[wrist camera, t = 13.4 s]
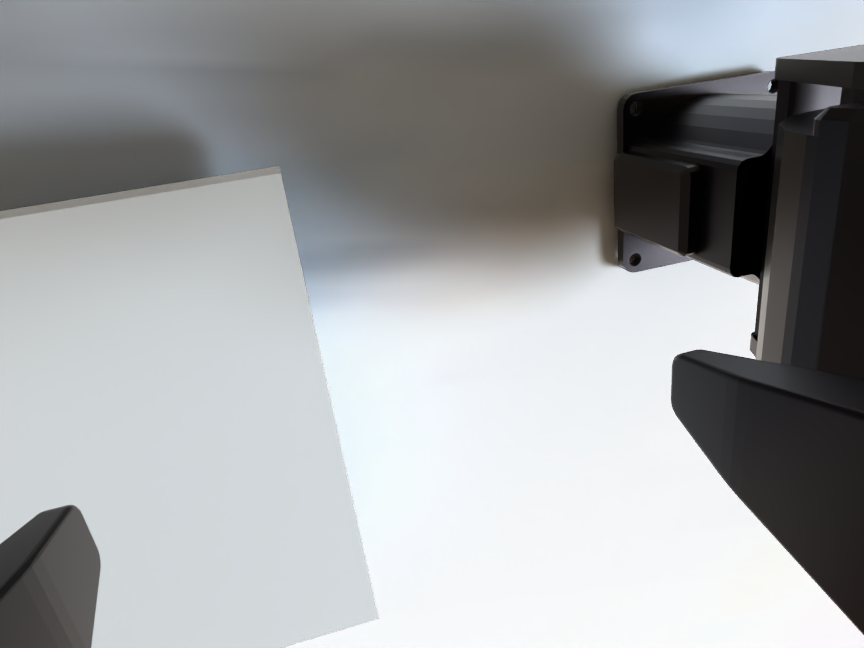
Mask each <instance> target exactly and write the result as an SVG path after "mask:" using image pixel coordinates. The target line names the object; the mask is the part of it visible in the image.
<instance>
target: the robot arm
mask: <svg viewBox="0 0 864 648" xmlns="http://www.w3.org/2000/svg"><path fill="white" fill-rule="evenodd" d="M770 81H771V84H772V86H771V89H770V90H769V91H768V84H769V82H770ZM633 102H635V103H636V105H637V109H636V111H635V113H634V114H633V115H632V114H631V113H630V106H631V104H632V103H633ZM614 217H615V226H616V227H617V228H618V262H619V265H620V266H621V268H623V269H625V270H627V271H629V272H638V271H643V270H648V269H652V268H657V267H662V266H666V265H671V264H676V263H680V262H685V261H690V260H695V261H697V262H700V263H702V264H704V265H707V266H709V267H712V268H714V269H716V270H719V271H721V272H723V273H726V274H728V275H731V276H733V277H742V278H744V279H747V280H749V281H751V282H754V283H756V284H759V293H758V304H757V315H756V326H755V332H753V333H752V334H751V342H750V351H751V352H752V353H753V354H754V356H755V357H756V360H755V359H750V358H744V357H739V356H733V355H728V354H723V353H717V352H712V351H706V350H694V351H690V352H686V353H682V354H679V355H677V356H676V357H675V358H674V360H673V364H672V385H671V403H672V407H673V410H674V412H675V414H676V416H677V417H678V419H679V420H680V421H681V423H682V424H683V425H684V427H685V428H686V429H687V431H688V432H689V433H690V435H691V436H692V437H693V439H694V440H695V442H696V443H697V444H698V446H699V447H700V448H701V450H702V451H703V452H704V454H705V455H706V456H707V458H708V459H709V461H710V462H711V463H712V465H713V466H714V467H715V469H716V470H717V471H718V473H719V474H720V475H721V477H722V478H723V479H724V480H725V482H726V483H727V484H728V485H729V487H730V488H731V489H732V490H733V491H734V493H735V494H736V495H737V496H738V497H739V498H740V499H741V501H742V502H743V503H744V504H745V505H746V506H747V507H748V508H749V509H750V510H751V512H752V513H753V514H754V515H755V516H756V517H757V518H758V519H759V520H760V521H761V523H762V524H763V525H764V526H765V527H766V528H767V529H768V530H769V531H770V532H771V534H772V535H773V536H774V537H775V538H776V539H777V540H778V541H779V542H780V543H781V545H782V546H783V547H784V548H785V549H786V550H787V551H788V552H789V553H790V554H791V556H792V557H793V558H794V559H795V560H796V561H797V562H798V563H799V564H800V565H801V567H802V568H803V569H804V570H805V571H806V572H807V573H808V574H809V575H810V576H811V578H812V579H813V580H814V581H815V582H816V583H817V584H818V585H819V586H820V587H821V589H822V590H823V591H824V592H825V593H826V594H827V595H828V596H829V597H830V598H831V600H832V601H833V602H834V603H835V604H836V605H837V606H838V607H839V608H840V609H841V611H842V612H843V613H844V614H845V615H846V616H847V617H848V618H849V619H850V620H851V622H852V623H853V624H854V625H855V626H856V627H857V628H858V629H859V630H860V631H861V633H862V634H863V635H864V45H857V46H851V47H844V48H838V49H831V50H825V51H818V52H812V53H805V54H799V55H792V56H785V57H779V58H776V67H775V71H766V72H760V73H753V74H747V75H741V76H734V77H728V78H722V79H715V80H709V81H702V82H696V83H690V84H683V85H677V86H671V87H664V88H658V89H651V90H645V91H639V92H632V93H629V94H626V95H625V96H623V97H622V98H621V100H620V102H619V104H618V109H617V157H616V159H615V160H614ZM633 254H635V255H636V257H635V260H634V261H633V262H632V263H629V260H630V257H631V256H632V255H633ZM100 570H101V560H100V554H99V551H98V548H97V546H96V544H95V541H94V539H93V537H92V535H91V533H90V530H89V528H88V526H87V524H86V521H85V519H84V517H83V515H82V513H81V511H80V510H79V509H78V508H77V507H76V506H74V505H66V506H62V507H58V508H54V509H50V510H46V511H43V512H40V513H39V514H37V515H36V516H35V517H34V518H32V519H31V520H30V521H28V522H27V523H26V524H25V525H23V526H22V527H21V528H20V529H18V530H17V531H16V532H15V533H13V534H12V535H11V536H10V537H8V538H7V539H6V540H5V541H3V542H2V543H1V544H0V648H91V646H92V638H93V629H94V621H95V612H96V604H97V595H98V587H99V578H100Z"/></svg>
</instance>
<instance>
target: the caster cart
mask: <svg viewBox="0 0 864 648" xmlns="http://www.w3.org/2000/svg"><path fill="white" fill-rule="evenodd" d="M66 505H74V506H76V507H77V508H78V509H79V510H80V511H81V513H82V515H83V517H84V519H85V521H86V524H87V526H88V528H89V530H90V533H91V535H92V537H93V539H94V541H95V544H96V546H97V548H98V551H99V554H100V560H101V570H100V578H99V587H98V595H97V604H96V612H95V621H94V629H93V638H92V646H91V648H283V647H286V646H290V645H293V644H296V643H300V642H303V641H306V640H310V639H313V638H316V637H320V636H323V635H326V634H330V633H333V632H336V631H340V630H343V629H346V628H349V627H353V626H356V625H359V624H363V623H366V622H369V621H373V620H376V619H379V618H378V613H377V608H376V603H375V599H374V594H373V589H372V585H371V580H370V575H369V571H368V566H367V562H366V557H365V553H364V548H363V544H362V539H361V535H360V530H359V526H358V521H357V516H356V512H355V507H354V503H353V498H352V494H351V489H350V485H349V480H348V476H347V471H346V467H345V462H344V457H343V453H342V448H341V444H340V439H339V435H338V430H337V426H336V421H335V417H334V412H333V408H332V403H331V398H330V394H329V389H328V385H327V380H326V376H325V371H324V367H323V362H322V358H321V353H320V349H319V344H318V339H317V335H316V330H315V326H314V321H313V317H312V312H311V308H310V303H309V299H308V294H307V290H306V285H305V280H304V276H303V271H302V267H301V262H300V258H299V253H298V249H297V244H296V240H295V235H294V231H293V226H292V221H291V217H290V212H289V208H288V203H287V199H286V194H285V190H284V185H283V181H282V176H281V171H280V167H279V166H275V167H269V168H263V169H257V170H251V171H245V172H238V173H232V174H226V175H220V176H214V177H208V178H201V179H195V180H189V181H183V182H177V183H171V184H164V185H158V186H152V187H146V188H140V189H134V190H127V191H121V192H115V193H109V194H103V195H97V196H90V197H84V198H78V199H72V200H66V201H60V202H53V203H47V204H41V205H35V206H29V207H23V208H16V209H10V210H4V211H0V544H1V543H2V542H3V541H5V540H6V539H7V538H8V537H10V536H11V535H12V534H13V533H15V532H16V531H17V530H18V529H20V528H21V527H22V526H23V525H25V524H26V523H27V522H28V521H30V520H31V519H32V518H34V517H35V516H36V515H37V514H39V513H40V512H43V511H46V510H50V509H54V508H58V507H62V506H66Z"/></svg>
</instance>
